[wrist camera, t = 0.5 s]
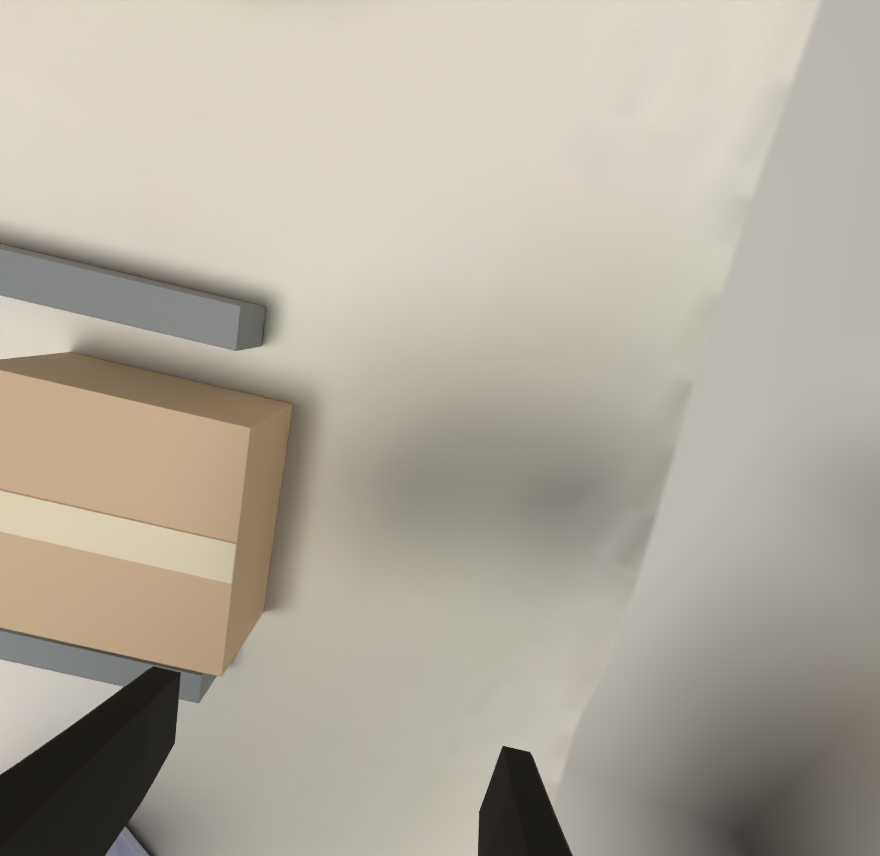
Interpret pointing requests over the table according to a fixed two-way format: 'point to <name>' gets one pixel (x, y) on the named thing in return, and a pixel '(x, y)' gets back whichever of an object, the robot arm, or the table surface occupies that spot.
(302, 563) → the table surface
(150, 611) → the carton
